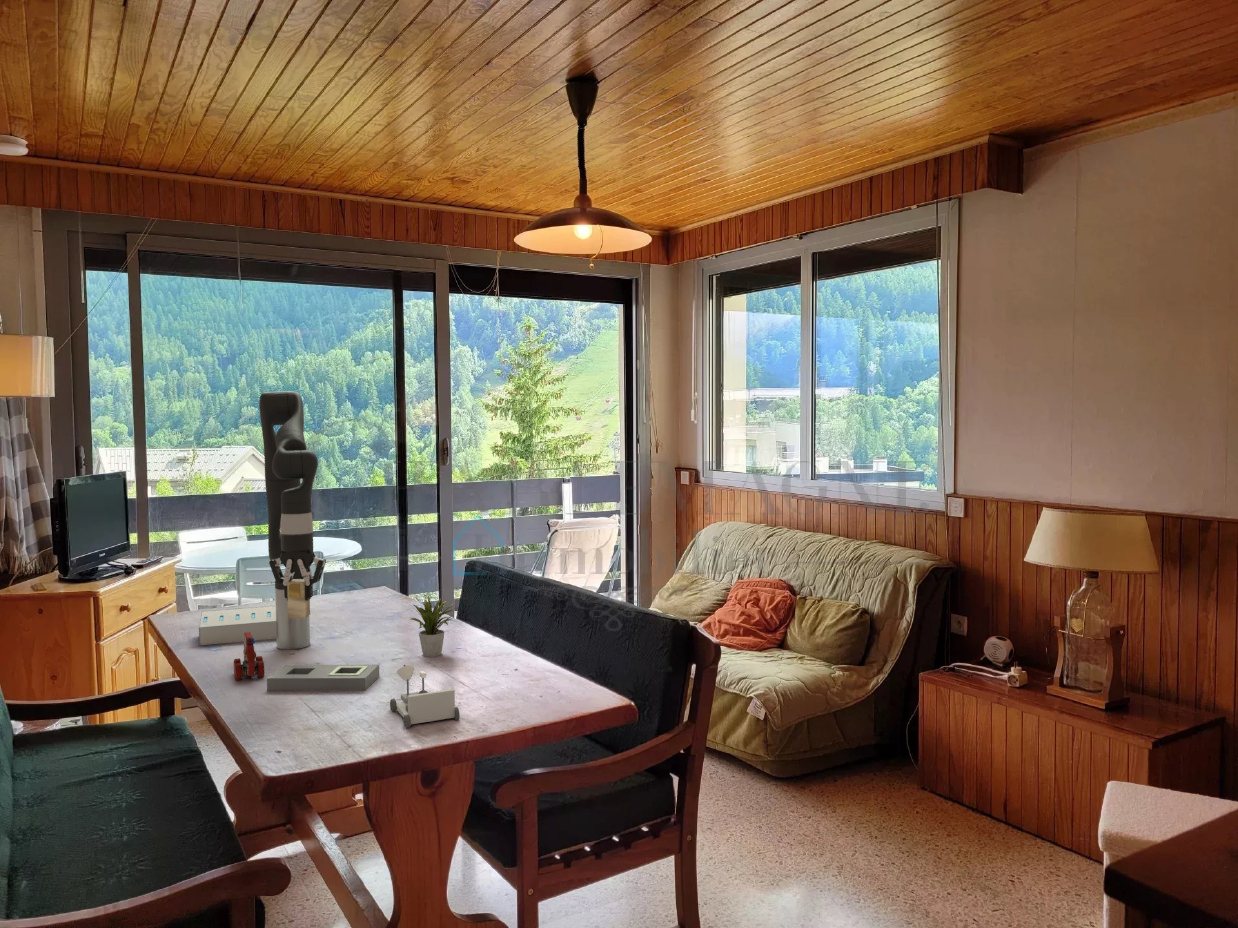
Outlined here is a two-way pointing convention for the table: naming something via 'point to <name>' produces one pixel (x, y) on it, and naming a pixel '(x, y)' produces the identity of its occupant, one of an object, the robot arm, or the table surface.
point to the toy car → (424, 702)
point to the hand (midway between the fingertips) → (298, 599)
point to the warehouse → (237, 624)
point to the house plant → (432, 627)
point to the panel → (323, 677)
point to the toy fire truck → (248, 660)
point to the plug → (297, 599)
